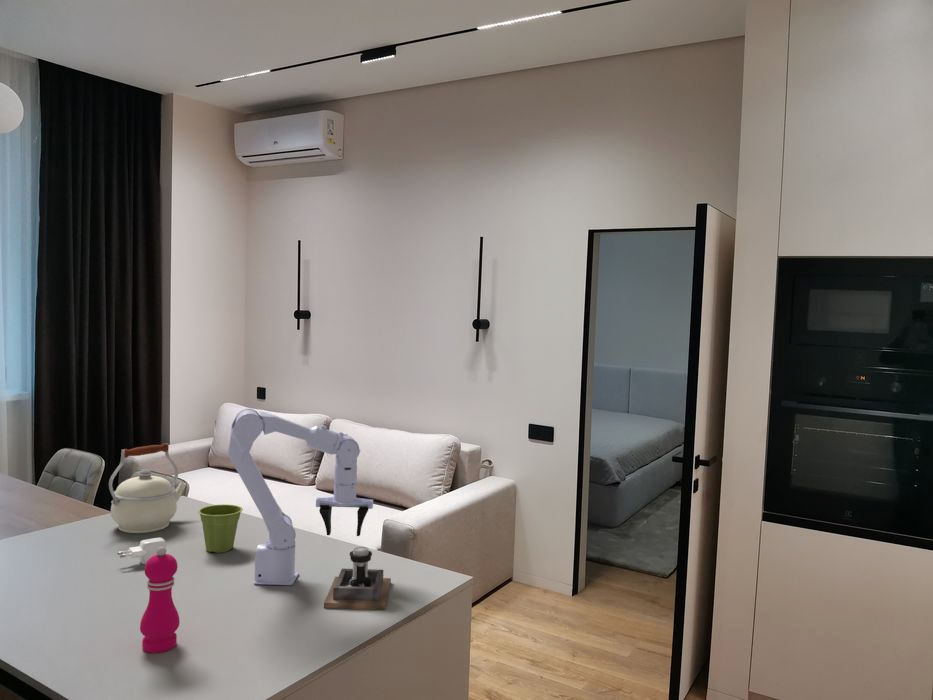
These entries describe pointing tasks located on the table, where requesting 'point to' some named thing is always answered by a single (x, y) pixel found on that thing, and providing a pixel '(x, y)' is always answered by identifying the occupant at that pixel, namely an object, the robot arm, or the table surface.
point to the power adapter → (145, 549)
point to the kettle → (144, 496)
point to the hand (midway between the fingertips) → (343, 534)
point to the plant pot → (220, 526)
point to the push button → (360, 567)
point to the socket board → (358, 592)
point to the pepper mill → (160, 604)
